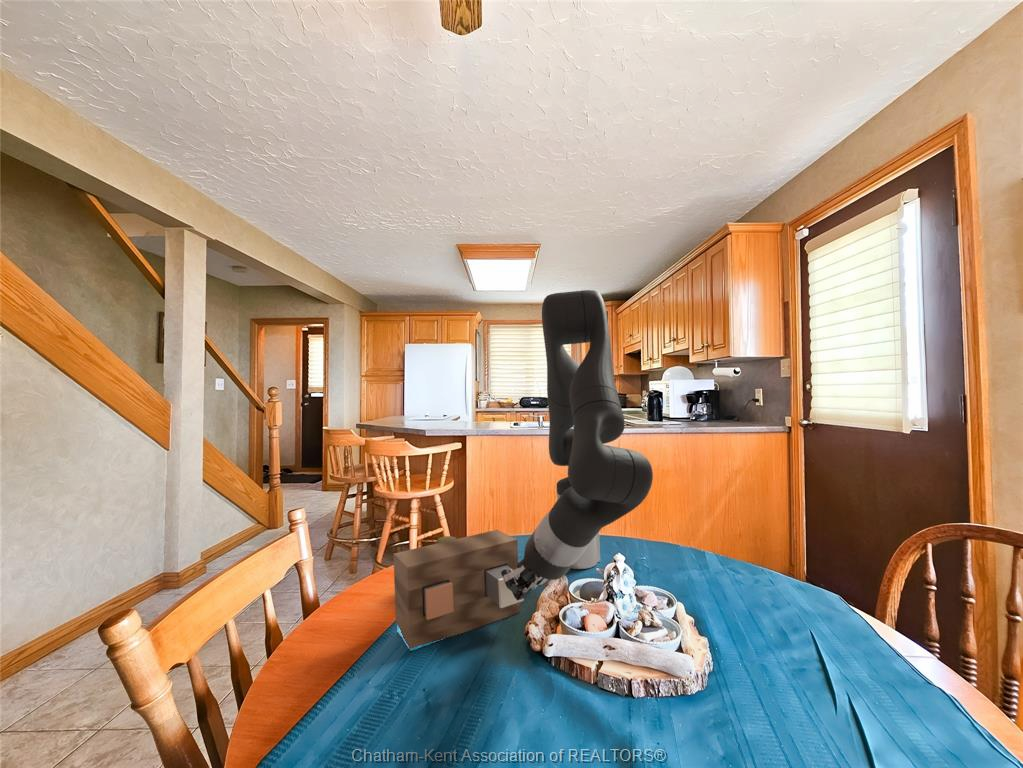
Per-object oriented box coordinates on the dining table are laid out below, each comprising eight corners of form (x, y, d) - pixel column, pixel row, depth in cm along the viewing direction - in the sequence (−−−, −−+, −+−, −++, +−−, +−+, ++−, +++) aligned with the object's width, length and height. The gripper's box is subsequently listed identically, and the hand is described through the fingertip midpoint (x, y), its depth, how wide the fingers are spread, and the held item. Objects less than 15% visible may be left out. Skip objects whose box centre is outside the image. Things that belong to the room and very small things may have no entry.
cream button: (500, 583, 84) (499, 559, 84) (523, 600, 76) (522, 573, 77) (478, 590, 81) (477, 565, 81) (500, 608, 74) (499, 580, 74)
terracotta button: (435, 593, 81) (434, 567, 81) (453, 611, 74) (452, 583, 74) (410, 600, 78) (409, 574, 79) (427, 620, 71) (426, 591, 71)
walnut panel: (499, 596, 89) (497, 529, 90) (520, 612, 82) (517, 539, 83) (396, 630, 78) (393, 553, 78) (410, 652, 71) (407, 567, 71)
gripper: (579, 512, 70) (539, 564, 80) (510, 528, 63) (476, 583, 73) (603, 554, 65) (558, 604, 75) (532, 576, 58) (492, 628, 68)
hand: (517, 594), depth 74 cm, fingers closed
